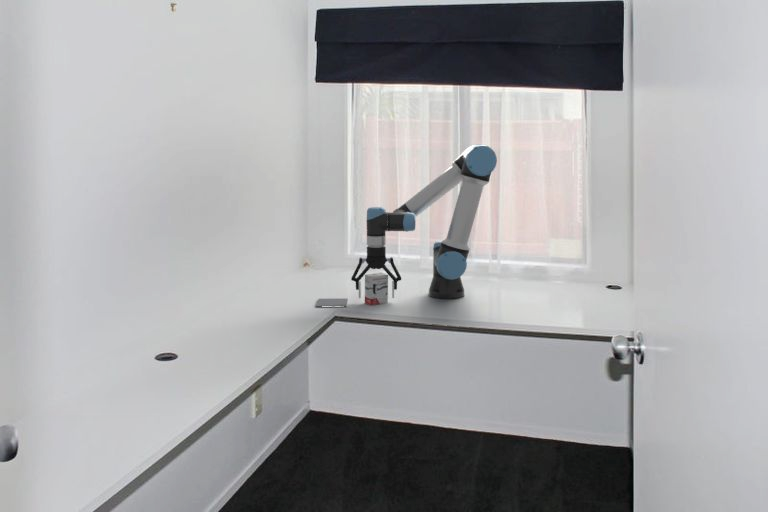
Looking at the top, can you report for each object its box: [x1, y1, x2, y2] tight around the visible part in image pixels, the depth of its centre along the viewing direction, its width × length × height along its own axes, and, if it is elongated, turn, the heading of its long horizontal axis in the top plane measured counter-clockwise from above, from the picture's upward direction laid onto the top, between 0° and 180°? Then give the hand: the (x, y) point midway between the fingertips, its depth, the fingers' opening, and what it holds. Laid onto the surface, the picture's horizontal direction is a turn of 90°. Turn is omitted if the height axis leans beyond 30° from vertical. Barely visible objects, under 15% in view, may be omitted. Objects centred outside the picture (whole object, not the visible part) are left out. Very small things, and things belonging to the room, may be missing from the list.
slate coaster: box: [315, 298, 349, 308], centre depth 249 cm, size 12×12×1 cm
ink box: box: [364, 272, 389, 306], centre depth 249 cm, size 8×5×12 cm, turn 123°
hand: (376, 297), depth 250 cm, fingers open, 13 cm apart
